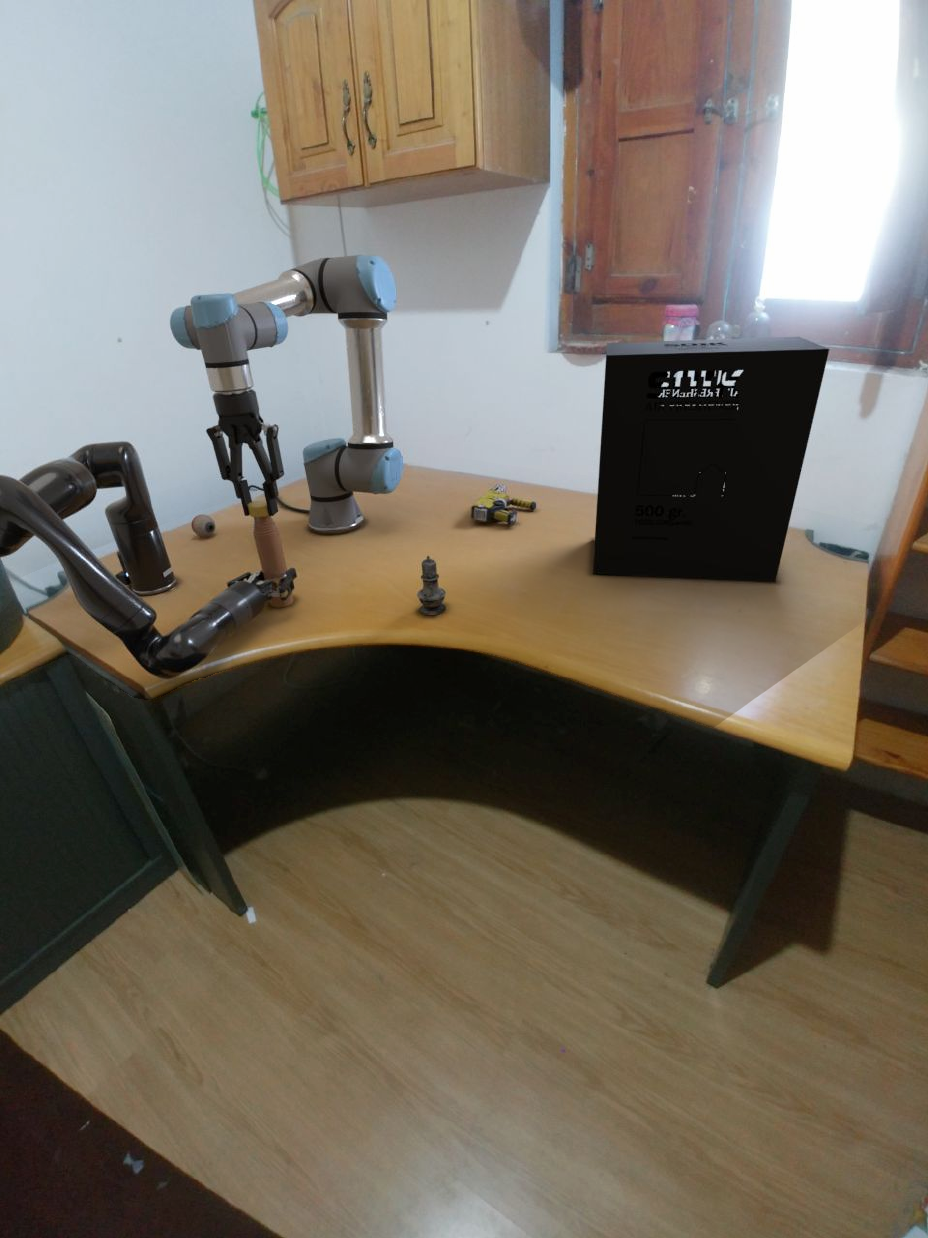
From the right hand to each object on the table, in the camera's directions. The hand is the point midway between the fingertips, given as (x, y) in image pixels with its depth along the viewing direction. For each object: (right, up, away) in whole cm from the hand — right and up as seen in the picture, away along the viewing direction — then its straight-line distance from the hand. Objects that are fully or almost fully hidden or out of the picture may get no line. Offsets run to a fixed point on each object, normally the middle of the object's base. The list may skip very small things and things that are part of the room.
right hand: (261, 513), depth 121 cm
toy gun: (+53, +9, +51) cm, 74 cm away
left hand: (+2, -11, +9) cm, 14 cm away
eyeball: (-31, +2, +47) cm, 56 cm away
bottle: (+1, -18, +10) cm, 20 cm away
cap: (0, +1, -1) cm, 2 cm away
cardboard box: (+90, -7, +19) cm, 92 cm away
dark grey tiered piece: (+34, -19, +4) cm, 39 cm away
